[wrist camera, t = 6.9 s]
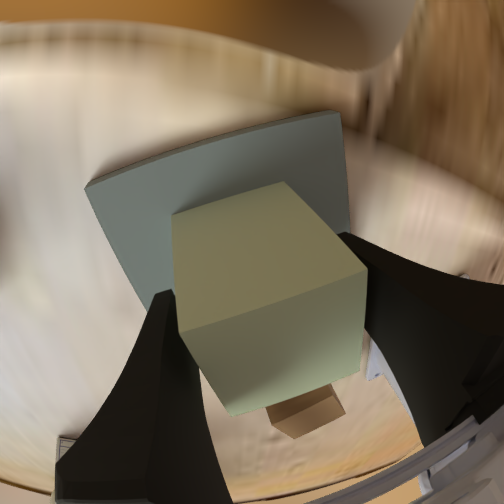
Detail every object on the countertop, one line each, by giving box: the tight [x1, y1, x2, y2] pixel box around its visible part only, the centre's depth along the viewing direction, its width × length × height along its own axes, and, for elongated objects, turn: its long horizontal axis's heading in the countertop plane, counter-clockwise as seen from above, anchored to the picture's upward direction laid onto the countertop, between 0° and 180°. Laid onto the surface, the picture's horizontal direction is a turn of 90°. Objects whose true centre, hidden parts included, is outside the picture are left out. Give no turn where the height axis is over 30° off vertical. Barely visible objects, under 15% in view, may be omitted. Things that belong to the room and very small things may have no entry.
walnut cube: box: [266, 383, 346, 439], centre depth 19 cm, size 4×4×4 cm
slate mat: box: [84, 110, 350, 312], centre depth 13 cm, size 10×9×1 cm
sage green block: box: [171, 181, 368, 417], centre depth 10 cm, size 4×4×6 cm
